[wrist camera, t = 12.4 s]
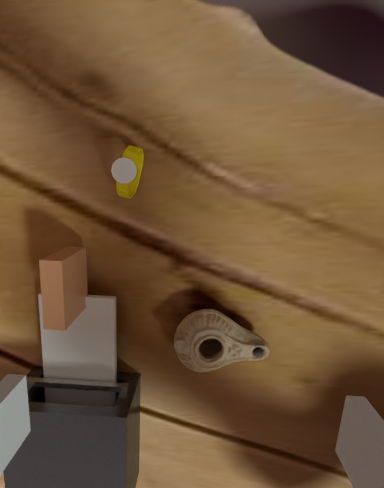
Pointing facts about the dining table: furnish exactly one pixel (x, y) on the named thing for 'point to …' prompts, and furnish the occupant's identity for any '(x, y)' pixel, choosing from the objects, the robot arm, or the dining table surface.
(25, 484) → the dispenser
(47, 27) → the dining table surface
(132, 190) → the watch
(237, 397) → the dining table surface
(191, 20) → the dining table surface
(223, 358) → the pottery oil lamp
